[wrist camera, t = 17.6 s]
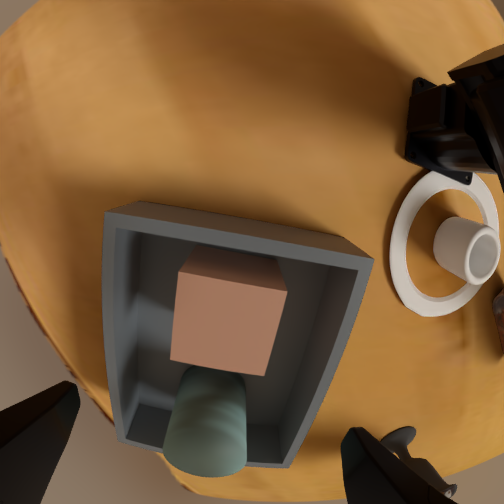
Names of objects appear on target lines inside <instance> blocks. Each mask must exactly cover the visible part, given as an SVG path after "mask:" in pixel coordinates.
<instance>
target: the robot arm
mask: <svg viewBox="0 0 504 504" xmlns="http://www.w3.org/2000/svg"><path fill="white" fill-rule="evenodd" d="M447 73H448V74H449V76H450V78H451V79H452V81H455V83H452V84H449V85H446V84H442V85H439V86H437V85H435V84H433V83H431V82H429V81H427V80H425V79H423V78H420V77H418V78H416V79H414V80H413V87H412V96H411V97H410V102H409V111H408V120H407V131H408V134H407V141H406V147H405V159H406V160H407V161H408V162H410V163H412V164H415V165H418V166H420V167H423V168H425V169H428V170H430V171H434V172H436V173H439V174H441V175H443V176H446V177H448V178H450V179H452V180H455V181H457V182H459V183H461V184H463V185H470V184H471V182H472V177H473V172H476V173H487V174H497V175H498V177H499V180H500V183H501V187H502V190H503V193H504V44H502V45H499V46H497V47H494V48H492V49H489V50H487V51H484V52H482V53H480V54H479V55H477V56H475V57H473V58H471V59H469V60H468V61H466V62H464V63H462V64H461V65H459V66H457V67H455V68H453V69H452V70H450V71H448V72H447ZM418 82H419V83H420V84H421V86H420V85H419V83H418ZM411 152H412V153H413V158H411V156H410V154H411ZM466 176H467V177H468V181H466ZM79 408H80V397H79V393H78V388H77V386H76V384H74V383H72V382H69V381H62V382H61V383H58V384H56V385H54V386H52V387H50V388H48V389H46V390H44V391H42V392H40V393H38V394H36V395H34V396H32V397H29V398H27V399H25V400H23V401H21V402H19V403H17V404H15V405H13V406H10V407H9V408H6V409H4V410H2V411H0V504H40V503H41V501H42V498H43V496H44V494H45V491H46V489H47V486H48V484H49V482H50V479H51V477H52V475H53V473H54V470H55V468H56V466H57V464H58V462H59V459H60V457H61V455H62V453H63V451H64V449H65V446H66V444H67V442H68V439H69V436H70V434H71V431H72V428H73V425H74V422H75V419H76V416H77V414H78V411H79ZM341 457H342V468H343V480H344V487H345V492H346V497H347V502H348V504H457V503H456V502H454V501H453V500H451V499H450V498H448V497H447V496H445V495H444V494H442V493H441V492H440V491H438V490H437V489H436V488H434V487H433V486H432V485H431V484H428V482H427V481H425V480H424V479H423V478H422V477H421V476H419V475H418V474H417V473H416V472H414V471H413V470H412V469H411V468H410V467H408V466H407V465H406V464H405V463H404V462H402V461H401V460H400V459H399V458H398V457H396V456H395V455H394V454H393V453H392V452H391V451H389V450H388V449H387V448H386V447H385V446H384V445H382V444H381V443H380V442H379V441H378V440H377V439H376V438H374V437H373V436H372V435H371V434H370V433H369V432H368V431H367V430H365V429H364V428H363V427H352V428H350V429H349V431H348V432H347V434H346V436H345V437H344V439H343V441H342V443H341Z"/></svg>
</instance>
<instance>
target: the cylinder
mask: <svg viewBox="0 0 504 504" xmlns="http://www.w3.org/2000/svg"><path fill="white" fill-rule="evenodd" d="M163 454H164V456H165V458H166V459H167V461H168V462H169V463H170V464H172V465H173V466H174V467H176V468H178V469H179V470H181V471H184V472H186V473H189V474H192V475H196V476H201V477H223V476H228V475H231V474H234V473H236V472H238V471H240V470H241V469H242V468H243V467H244V466H245V464H246V462H247V442H246V386H245V382H244V380H243V378H242V376H241V375H240V374H239V373H238V372H232V371H226V370H220V369H214V368H208V367H203V366H198V365H193V366H191V367H190V368H188V369H187V370H186V371H185V372H184V374H183V375H182V378H181V381H180V385H179V388H178V392H177V396H176V399H175V403H174V407H173V410H172V414H171V418H170V421H169V425H168V429H167V433H166V437H165V440H164V444H163Z"/></svg>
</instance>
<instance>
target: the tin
mask: <svg viewBox="0 0 504 504" xmlns="http://www.w3.org/2000/svg"><path fill="white" fill-rule="evenodd" d="M493 312H494V316H495V319H496V323H497V327H498V331H499V335H500V340H501V345H502V350H503V353H504V288H503V289H502V291H501V292H500V293H499V295H497V296H496V297H495V298H494V300H493Z"/></svg>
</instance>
